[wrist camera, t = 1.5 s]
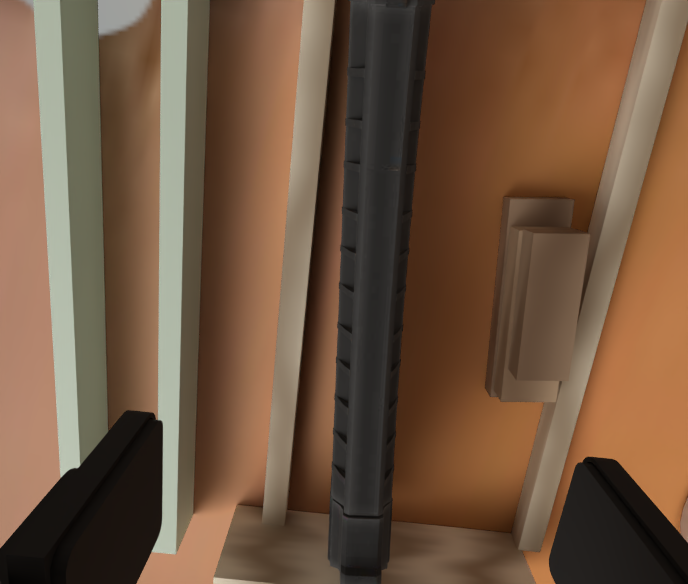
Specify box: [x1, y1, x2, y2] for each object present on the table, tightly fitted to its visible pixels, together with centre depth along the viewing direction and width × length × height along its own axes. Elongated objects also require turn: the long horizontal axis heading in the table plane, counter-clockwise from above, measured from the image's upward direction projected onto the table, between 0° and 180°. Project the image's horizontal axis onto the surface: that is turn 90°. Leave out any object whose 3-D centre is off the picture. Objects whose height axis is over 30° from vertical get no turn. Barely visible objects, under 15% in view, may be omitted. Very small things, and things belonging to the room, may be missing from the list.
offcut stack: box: [485, 197, 590, 402], centre depth 28 cm, size 4×12×4 cm, turn 0°
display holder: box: [33, 0, 210, 554], centre depth 27 cm, size 7×36×4 cm, turn 174°
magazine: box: [328, 0, 435, 584], centre depth 24 cm, size 17×3×30 cm
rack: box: [213, 0, 688, 584], centre depth 26 cm, size 21×40×6 cm, turn 174°
